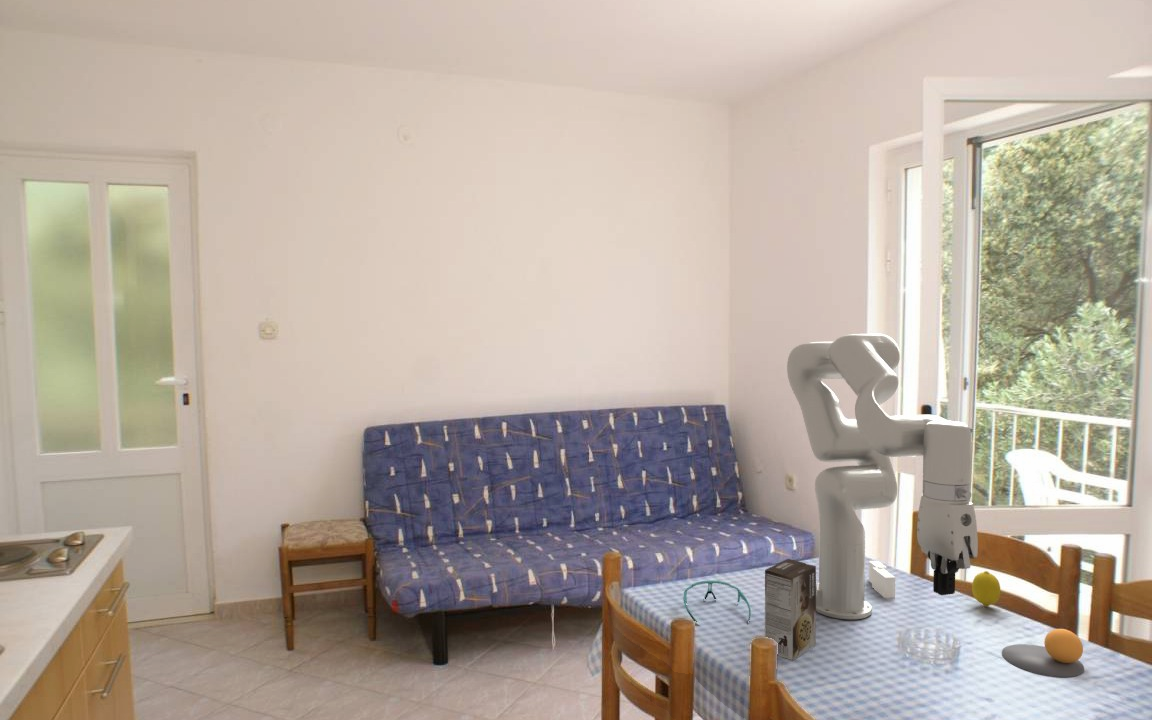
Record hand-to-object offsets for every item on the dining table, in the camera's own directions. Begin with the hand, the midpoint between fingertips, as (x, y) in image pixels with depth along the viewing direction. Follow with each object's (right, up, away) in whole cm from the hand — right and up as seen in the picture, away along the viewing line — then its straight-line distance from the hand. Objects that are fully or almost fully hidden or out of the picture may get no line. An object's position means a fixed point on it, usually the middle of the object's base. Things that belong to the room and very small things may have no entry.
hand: (944, 592), depth 132 cm
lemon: (+25, -13, +32) cm, 43 cm away
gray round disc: (+21, -15, +6) cm, 27 cm away
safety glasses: (-35, -14, +30) cm, 48 cm away
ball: (+25, -12, +6) cm, 28 cm away
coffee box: (-24, -15, +12) cm, 31 cm away
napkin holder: (+7, -14, +44) cm, 47 cm away
